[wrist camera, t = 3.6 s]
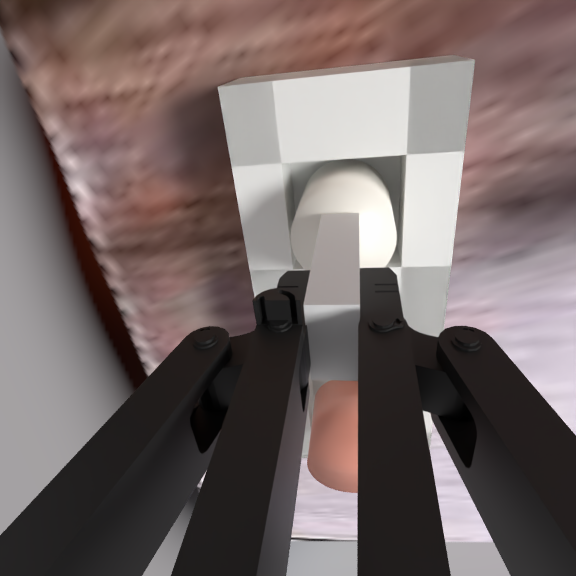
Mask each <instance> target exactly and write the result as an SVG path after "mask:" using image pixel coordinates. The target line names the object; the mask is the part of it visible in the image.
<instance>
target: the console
mask: <svg viewBox="0 0 576 576" xmlns="http://www.w3.org/2000/svg"><path fill="white" fill-rule="evenodd" d="M474 65H475V60H474V59H469V58H465V57H461V56H457V55H447V56H438V57H428V58H419V59H410V60H401V61H391V62H382V63H373V64H364V65H354V66H345V67H336V68H326V69H317V70H308V71H299V72H289V73H280V74H271V75H262V76H252V77H243V78H239V79H236V80H234V81H231V82H229V83H226V84H224V85H221V86H218V92H219V98H220V103H221V109H222V115H223V120H224V126H225V132H226V138H227V143H228V149H229V155H230V161H231V166H232V172H233V178H234V184H235V189H236V195H237V201H238V206H239V212H240V218H241V224H242V229H243V235H244V241H245V247H246V252H247V258H248V264H249V269H250V275H251V281H252V287H253V292H254V298H255V297H256V295H258V294H260V293H261V292H263V291H266V290H269V289H273V288H277V284H278V281H279V278H280V277H281V276H282V275H283V274H284V273H286V272H287V271H293V270H305V269H304V268H303V267H302V266H301V265H300V264H299V262H298V261H297V259H296V257H295V255H294V253H293V250H292V246H291V237H290V235H291V228H292V224H293V221H294V218H295V215H296V212H297V209H298V206H299V203H300V200H301V197H302V194H303V192H304V189H305V186H306V184H307V182H308V180H309V179H310V177H311V176H312V175H313V174H314V173H315V172H316V171H317V170H318V169H319V168H320V167H322V166H324V165H325V164H327V163H330V162H332V161H336V160H341V159H353V160H358V161H362V162H364V163H367V164H368V165H370V166H372V167H373V168H374V169H376V170H377V171H378V172H379V173H380V174H381V176H382V177H383V178H384V180H385V182H386V184H387V187H388V190H389V195H390V200H391V205H392V210H393V216H394V221H395V226H396V231H397V241H396V247H395V251H394V253H393V255H392V257H391V259H390V261H389V262H388V264H387V265H386V266H385V267H389V268H390V269H391V270H392V271H393V272H394V273H395V274H396V275H397V280H398V286H399V292H400V298H401V305H402V311H403V317H404V319H406V321H407V323H408V326H409V327H411V328H412V329H414V330H416V331H418V332H420V333H423V334H426V335H431V336H435V337H439V334H440V333H441V332H442V331H443V330H444V322H445V314H446V305H447V297H448V288H449V279H450V271H451V262H452V254H453V245H454V236H455V228H456V219H457V211H458V202H459V193H460V185H461V176H462V168H463V159H464V151H465V142H466V133H467V125H468V116H469V108H470V99H471V90H472V82H473V73H474ZM385 267H384V268H385ZM328 381H330V380H311V375H310V373H309V390H310V395H309V403H308V410H307V418H306V426H305V434H304V441H303V449H302V457H301V458H308V451H309V443H310V434H311V426H312V418H313V409H314V401H315V395H316V393H317V391H318V389H319V388H320V387H321V386H322V385H323V384H325V383H326V382H328ZM423 415H424V421H425V427H426V433H427V438H428V444H429V450H430V443H431V434H432V426H433V421H432V418H431V414H430V413H429V412H426V411H423Z"/></svg>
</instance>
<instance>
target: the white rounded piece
mask: <svg viewBox="0 0 576 576" xmlns="http://www.w3.org/2000/svg"><path fill="white" fill-rule="evenodd" d="M343 213H359V243H360V268H384V267H385V266H386V265H387V264H388V262H389V261H390V259H391V257H392V255H393V253H394V251H395V247H396V241H397V231H396V226H395V221H394V216H393V210H392V205H391V200H390V195H389V190H388V187H387V184H386V182H385V180H384V178H383V177H382V176H381V174H380V173H379V172H378V171H377V170H376V169H374V168H373V167H372V166H370V165H368V164H367V163H364V162H362V161H358V160H353V159H341V160H336V161H332V162H330V163H327V164H325V165H324V166H322V167H320V168H319V169H318V170H317V171H316V172H315V173H314V174H313V175H312V176H311V177H310V179H309V180H308V182H307V184H306V186H305V189H304V192H303V194H302V197H301V200H300V203H299V206H298V209H297V212H296V215H295V218H294V221H293V224H292V228H291V235H290V237H291V246H292V250H293V253H294V255H295V257H296V259H297V261H298V262H299V264H300V265H301V266H302V267H303V268H304V269H305V270H311V265H312V260H313V255H314V250H315V245H316V240H317V235H318V230H319V225H320V220H321V215H322V214H343Z"/></svg>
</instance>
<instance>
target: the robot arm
mask: <svg viewBox="0 0 576 576" xmlns="http://www.w3.org/2000/svg"><path fill="white" fill-rule="evenodd" d="M253 306H254V312H255V317H256V323H257V326H256V329H255V331H253V332H250V333H247V334H244V335H240V336H235V337H230V338H229V333H228V332H227V331H226V330H225V329H223V328H220V327H213V326H209V327H204V328H200V329H198V330H195V331H193V332H191V333H190V334H189V335H188V336H186V337H185V338H184V339H183V340H182V342H181V343H180V344H179V345H178V346H177V347H176V348H175V349H174V350H173V351H172V352H171V353H170V354H169V355H168V357H167V358H166V359H165V360H164V361H163V362H162V363H161V364H160V365H159V366H158V367H157V368H156V369H155V370H154V372H153V373H152V374H151V375H150V376H149V377H148V378H147V379H146V380H145V381H144V382H143V383H142V384H141V385H140V387H139V388H138V389H137V390H136V391H135V392H134V393H133V394H132V395H131V396H130V398H128V399H127V400H126V401H125V403H124V404H123V405H122V406H121V407H120V408H119V409H118V410H117V411H116V412H115V413H114V414H113V415H112V417H111V418H110V419H109V420H108V421H107V422H106V423H105V424H104V425H103V426H102V427H101V428H100V429H99V430H98V432H97V433H96V434H95V435H94V436H93V437H92V438H91V439H90V440H89V441H88V442H87V443H86V444H85V446H83V448H82V449H81V450H80V451H79V452H78V453H77V454H76V455H75V456H74V457H73V458H72V459H71V460H70V462H69V463H68V464H67V465H66V466H65V467H64V468H63V469H62V470H61V471H60V472H59V473H58V474H57V475H56V476H55V478H53V480H52V481H51V482H50V483H49V484H48V485H47V486H46V487H45V488H44V489H43V490H42V491H41V492H40V493H39V495H38V496H37V497H36V498H35V499H34V500H33V501H32V502H31V503H30V504H29V505H28V506H27V507H26V509H25V510H24V511H23V512H22V513H21V514H20V515H19V516H18V517H17V518H16V519H15V520H14V521H13V522H12V524H11V525H10V526H9V527H8V528H7V529H6V530H5V531H4V532H3V533H2V534H1V535H0V576H142V575H143V573H144V571H145V570H146V568H147V567H148V565H149V563H150V562H151V560H152V558H153V557H154V555H155V553H156V552H157V550H158V549H159V547H160V545H161V544H162V542H163V540H164V539H165V537H166V536H167V534H168V532H169V531H170V529H171V527H172V526H173V524H174V522H175V521H176V519H177V518H178V516H179V514H180V513H181V511H182V509H183V508H184V506H185V504H186V503H187V501H188V500H189V498H190V496H191V495H192V493H193V491H194V490H195V488H196V487H197V485H198V483H199V482H200V480H201V478H202V477H203V475H204V474H205V472H206V470H207V472H206V475H205V478H204V481H203V483H202V486H201V489H200V492H199V495H198V498H197V501H196V504H195V507H194V510H193V513H192V516H191V519H190V522H189V525H188V527H187V530H186V533H185V536H184V539H183V542H182V545H181V548H180V551H179V554H178V557H177V559H176V563H175V565H174V568H173V571H172V574H171V576H286V572H287V564H288V557H289V549H290V541H291V534H292V526H293V518H294V511H295V503H296V495H297V487H298V480H299V472H300V464H301V457H302V449H303V441H304V434H305V426H306V418H307V410H308V403H309V395H310V390H309V373H310V375H311V380H342V381H358V576H451V574H450V569H449V563H448V558H447V551H446V546H445V539H444V533H443V527H442V521H441V515H440V509H439V503H438V498H437V492H436V486H435V480H434V474H433V468H432V462H431V456H430V450H429V444H428V438H427V433H426V427H425V421H424V415H423V411H426V412H429V413H430V414H431V418H432V421H433V423H434V425H435V427H436V429H437V431H438V433H439V434H440V436H441V438H442V440H443V442H444V444H445V446H446V448H447V450H448V452H449V454H450V456H451V458H452V460H453V462H454V464H455V466H456V468H457V470H458V472H459V474H460V476H461V478H462V480H463V482H464V484H465V486H466V488H467V490H468V492H469V494H470V496H471V498H472V500H473V502H474V504H475V506H476V508H477V510H478V512H479V514H480V516H481V518H482V520H483V522H484V524H485V526H486V528H487V530H488V532H489V534H490V536H491V538H492V539H493V541H494V543H495V545H496V547H497V549H498V551H499V553H500V555H501V557H502V559H503V561H504V563H505V565H506V567H507V569H508V571H509V573H510V575H511V576H576V435H575V434H574V433H573V432H572V431H571V429H570V428H569V427H568V426H567V425H566V424H565V422H564V421H563V420H562V419H561V418H560V417H559V415H558V414H557V413H556V412H555V411H554V410H553V408H552V407H551V406H550V405H549V404H548V403H547V401H546V400H545V399H544V398H543V397H542V396H541V394H540V393H539V392H538V391H537V390H536V389H535V387H534V386H533V385H532V384H531V383H530V382H529V380H528V379H527V378H526V377H525V376H524V374H523V373H522V372H521V371H520V370H519V369H518V367H517V366H516V365H515V364H514V363H513V362H512V360H511V359H510V358H509V357H508V356H507V355H506V353H505V352H504V351H503V350H502V349H501V348H500V346H499V345H498V344H497V343H496V342H495V341H494V339H493V338H492V337H490V336H489V335H488V334H487V333H486V332H484V331H481V330H479V329H477V328H473V327H468V326H453V327H450V328H446V329H445V330H443V331H442V332H441V333H440V334H439V337H435V336H431V335H426V334H423V333H420V332H418V331H416V330H414V329H412V328H411V327H409V326H408V323H407V321H406V319H404V317H403V311H402V305H401V298H400V292H399V286H398V280H397V275H396V274H395V273H394V272H393V271H392V270H391V269H390V268H389V267H385V268H360V243H359V213H343V214H322V215H321V220H320V225H319V230H318V235H317V240H316V245H315V250H314V255H313V260H312V265H311V270H293V271H287V272H286V273H284V274H283V275H282V276H281V277H280V278H279V281H278V284H277V288H273V289H269V290H266V291H263V292H261V293H260V294H258V295H256V297H255V298H254V299H253Z"/></svg>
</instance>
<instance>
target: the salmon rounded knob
mask: <svg viewBox="0 0 576 576" xmlns="http://www.w3.org/2000/svg"><path fill="white" fill-rule="evenodd" d="M307 465H308V469H309V471H310V473H311V475H312V476H313V477H314V478H315V479H316V480H317V481H319V482H320V483H322V484H323V485H325V486H327V487H329V488H332V489H335V490H338V491H343V492H351V493H358V381H342V380H330V381H328V382H326V383H325V384H323V385H322V386H321V387H320V388H319V389H318V391H317V393H316V395H315V401H314V409H313V418H312V426H311V434H310V443H309V451H308V460H307Z"/></svg>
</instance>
